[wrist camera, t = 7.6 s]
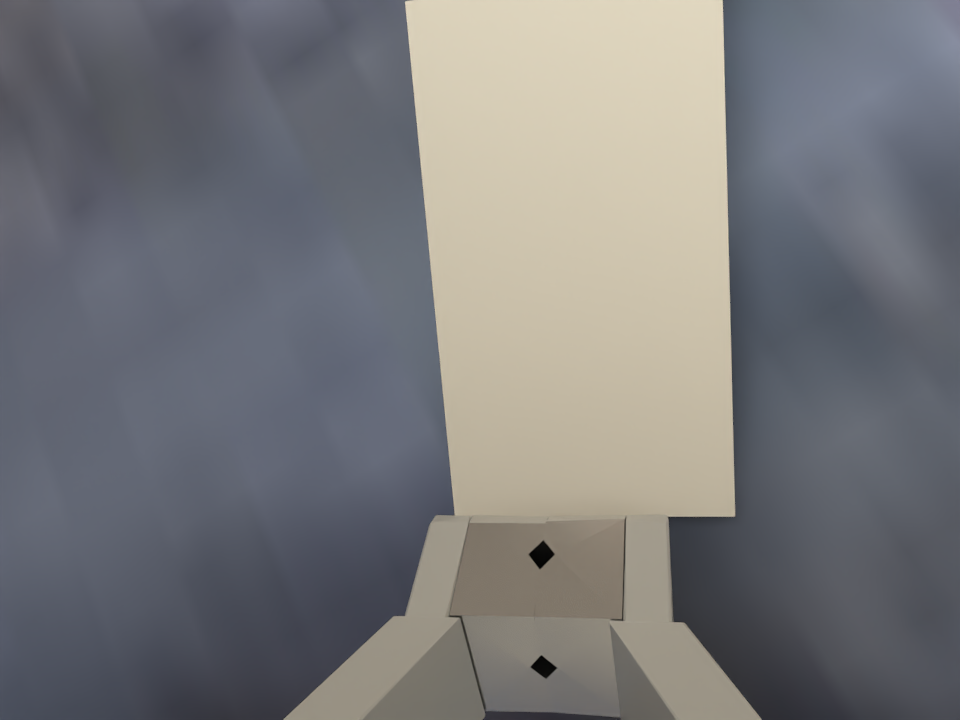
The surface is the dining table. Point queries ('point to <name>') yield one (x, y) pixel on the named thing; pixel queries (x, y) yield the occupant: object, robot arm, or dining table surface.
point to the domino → (579, 252)
